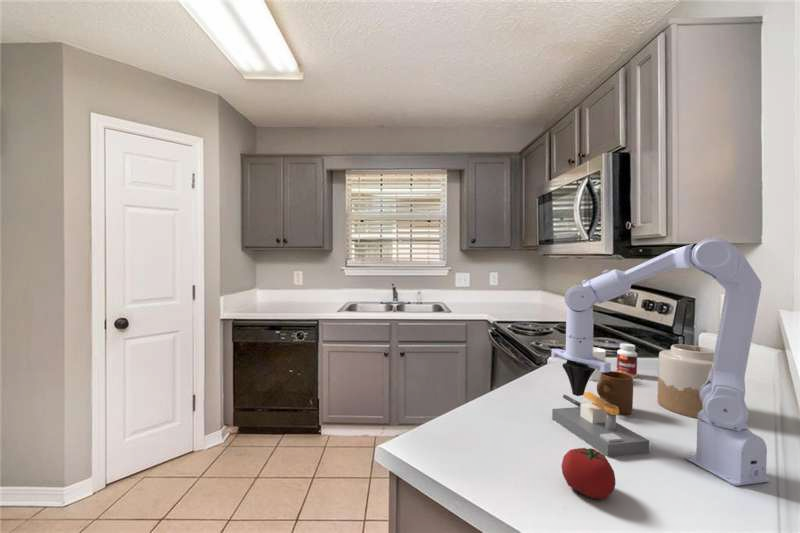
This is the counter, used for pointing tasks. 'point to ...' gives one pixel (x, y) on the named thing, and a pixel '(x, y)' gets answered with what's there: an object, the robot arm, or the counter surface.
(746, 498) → the counter surface
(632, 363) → the pill bottle
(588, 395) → the clip
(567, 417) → the grey piece
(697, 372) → the vase
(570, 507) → the counter surface
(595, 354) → the white cup
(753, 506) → the counter surface
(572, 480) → the tomato
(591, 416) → the plug
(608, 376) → the mug
